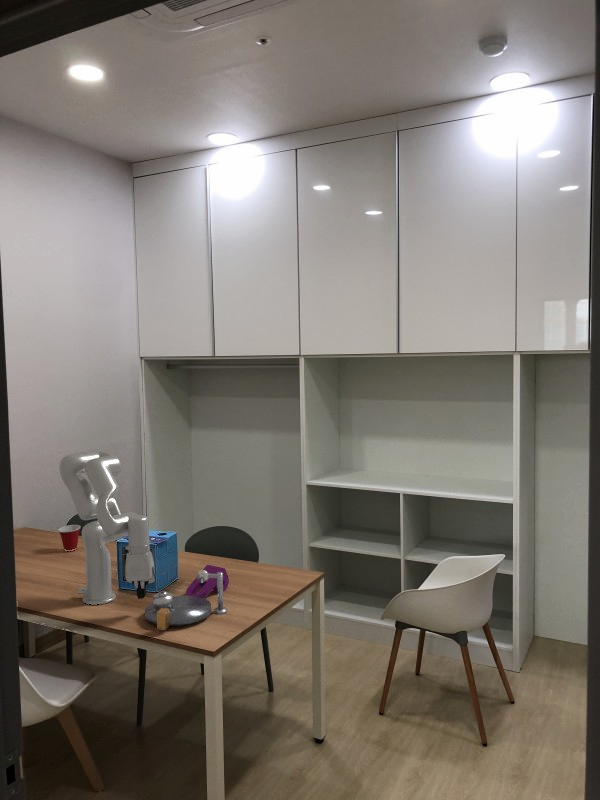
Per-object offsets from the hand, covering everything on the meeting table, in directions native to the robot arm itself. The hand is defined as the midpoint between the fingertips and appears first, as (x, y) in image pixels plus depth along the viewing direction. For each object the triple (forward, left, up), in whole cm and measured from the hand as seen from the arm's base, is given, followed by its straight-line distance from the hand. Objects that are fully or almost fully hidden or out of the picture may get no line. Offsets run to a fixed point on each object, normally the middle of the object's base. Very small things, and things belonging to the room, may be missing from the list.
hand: (141, 597), depth 240 cm
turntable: (+14, -1, -5) cm, 15 cm away
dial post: (+25, +7, -6) cm, 27 cm away
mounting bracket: (+16, +24, -7) cm, 30 cm away
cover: (+8, 0, -3) cm, 9 cm away
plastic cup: (-73, +71, -7) cm, 102 cm away
